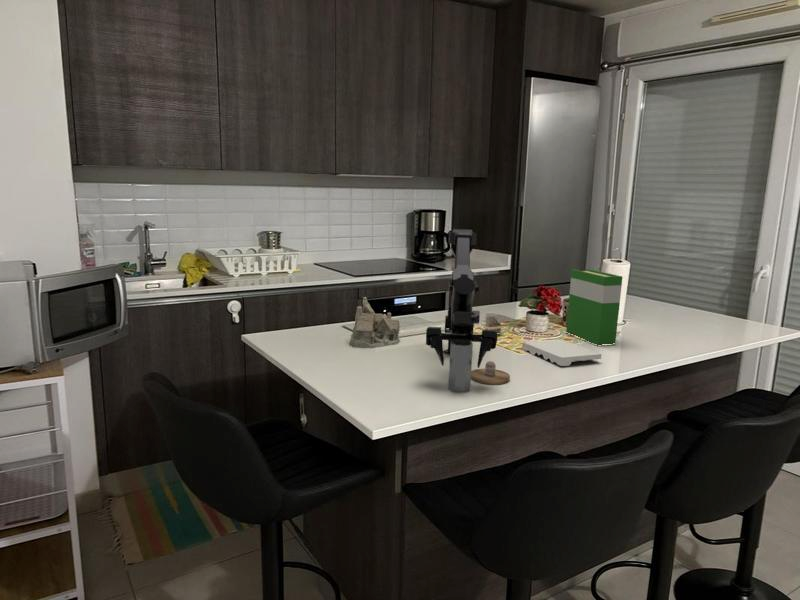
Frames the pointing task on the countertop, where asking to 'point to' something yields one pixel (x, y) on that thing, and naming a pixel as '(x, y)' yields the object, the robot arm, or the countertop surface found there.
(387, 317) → the ceramic cottage
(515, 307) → the countertop surface
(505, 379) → the post stand
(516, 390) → the countertop surface
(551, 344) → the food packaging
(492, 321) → the architectural model
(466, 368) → the steel sleeve
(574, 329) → the hardback book
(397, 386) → the countertop surface
